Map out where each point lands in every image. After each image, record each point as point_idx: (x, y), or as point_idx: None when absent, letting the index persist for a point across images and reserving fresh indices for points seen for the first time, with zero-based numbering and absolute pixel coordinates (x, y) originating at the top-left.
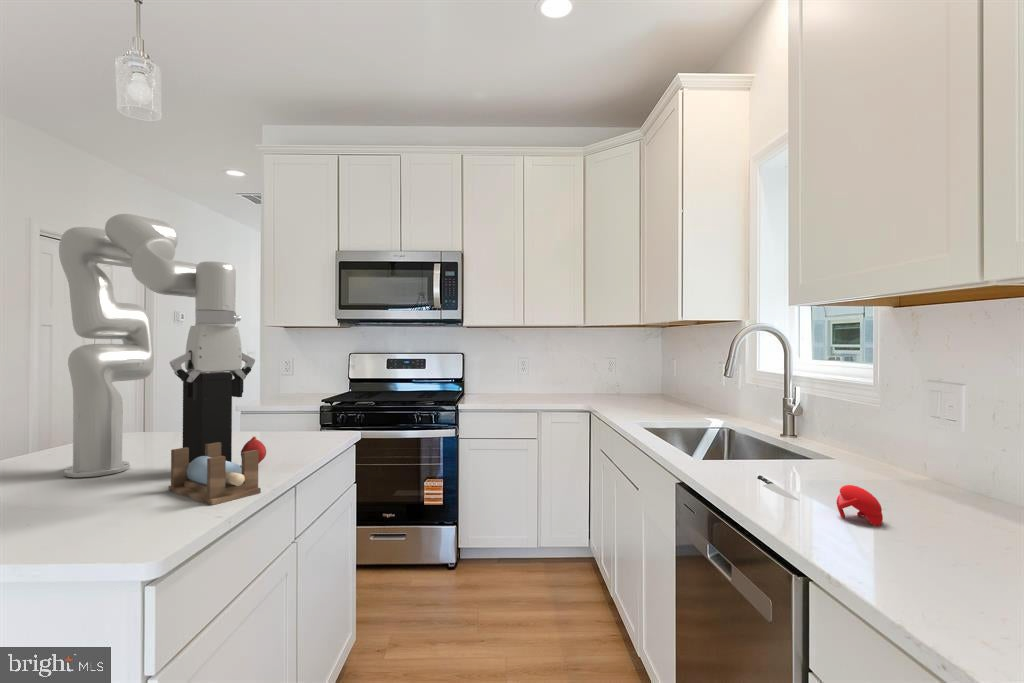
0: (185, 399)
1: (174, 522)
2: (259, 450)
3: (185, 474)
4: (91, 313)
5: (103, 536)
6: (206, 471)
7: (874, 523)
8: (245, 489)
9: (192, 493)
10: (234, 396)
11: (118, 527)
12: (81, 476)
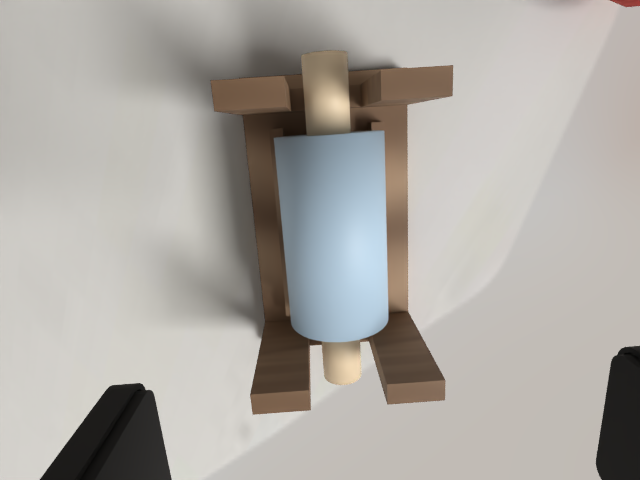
0: (112, 386)
1: (160, 397)
2: None
3: (279, 111)
4: None
5: (23, 377)
6: (289, 276)
7: None
8: None
9: (257, 241)
10: (614, 387)
11: (57, 340)
12: None
